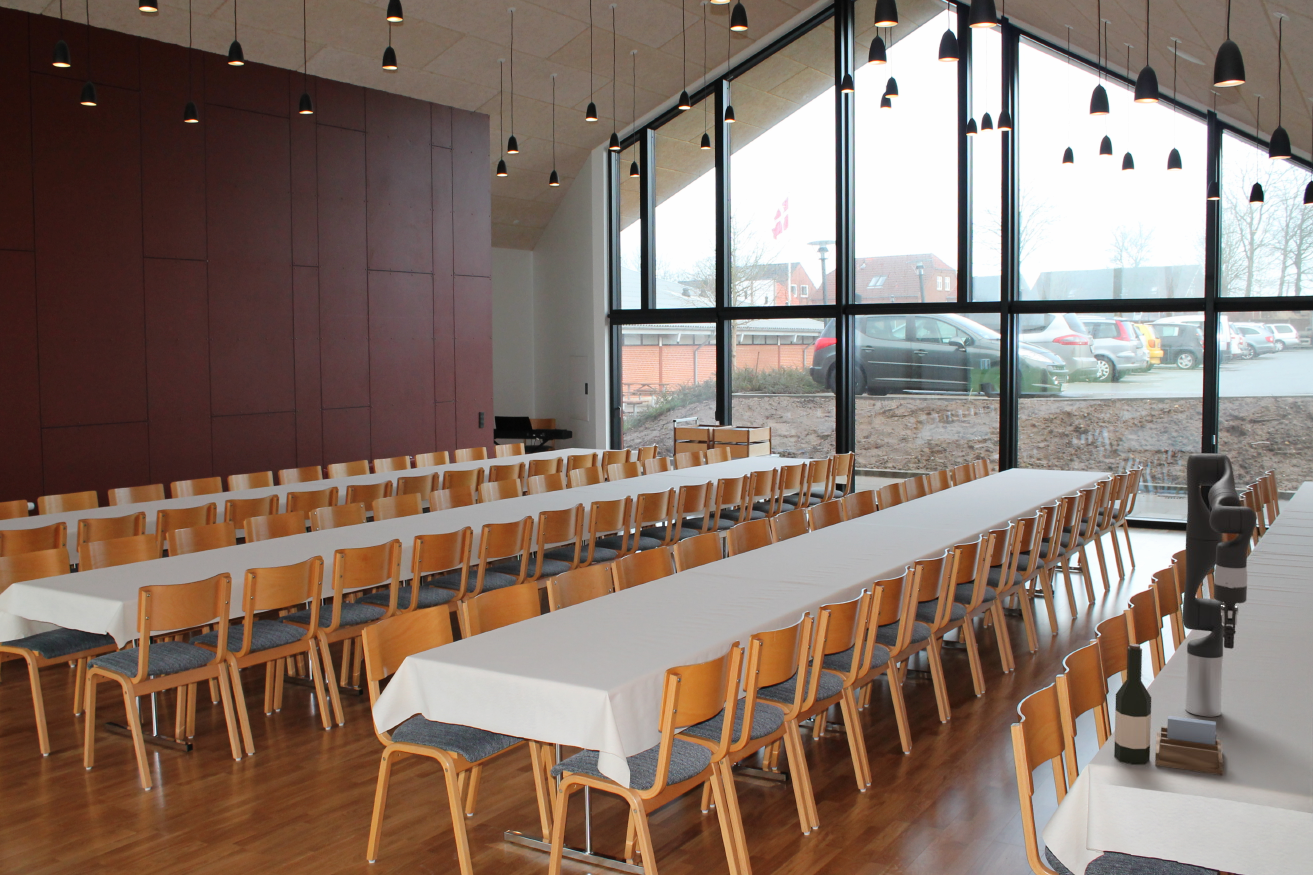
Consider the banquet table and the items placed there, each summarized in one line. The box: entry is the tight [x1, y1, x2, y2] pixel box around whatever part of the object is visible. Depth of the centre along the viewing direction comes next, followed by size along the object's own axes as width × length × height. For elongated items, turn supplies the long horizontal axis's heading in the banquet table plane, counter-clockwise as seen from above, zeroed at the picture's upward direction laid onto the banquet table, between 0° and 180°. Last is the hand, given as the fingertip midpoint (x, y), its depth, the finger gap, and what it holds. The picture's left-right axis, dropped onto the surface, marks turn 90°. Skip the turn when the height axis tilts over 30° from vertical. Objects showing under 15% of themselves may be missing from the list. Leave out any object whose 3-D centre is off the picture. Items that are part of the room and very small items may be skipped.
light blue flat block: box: [1166, 715, 1217, 745], centre depth 270 cm, size 2×11×9 cm, turn 63°
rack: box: [1154, 726, 1223, 776], centre depth 270 cm, size 16×15×5 cm
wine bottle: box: [1113, 643, 1152, 766], centre depth 270 cm, size 8×8×30 cm
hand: (1228, 643), depth 274 cm, fingers open, 8 cm apart
